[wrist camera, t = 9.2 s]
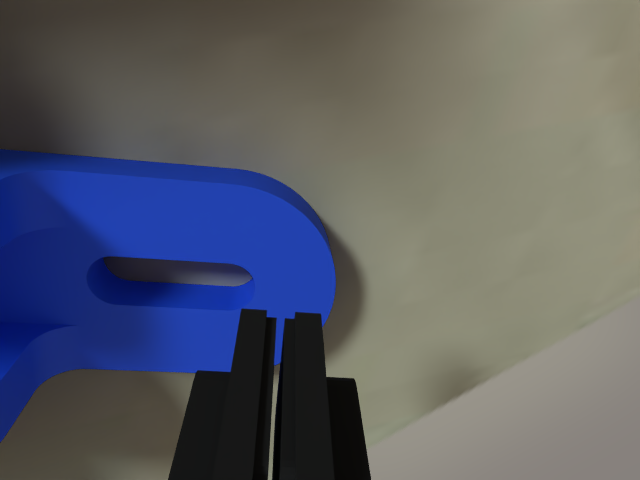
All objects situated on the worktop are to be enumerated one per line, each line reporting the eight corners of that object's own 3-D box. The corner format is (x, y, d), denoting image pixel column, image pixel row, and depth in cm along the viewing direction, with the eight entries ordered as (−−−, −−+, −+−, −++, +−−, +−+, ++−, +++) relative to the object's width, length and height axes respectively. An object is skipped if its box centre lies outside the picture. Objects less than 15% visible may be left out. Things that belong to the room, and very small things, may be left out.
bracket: (-102, 329, 21) (-350, 532, 13) (-158, 134, 17) (-545, 237, 9) (319, 347, 23) (342, 532, 15) (342, 176, 19) (387, 291, 11)
